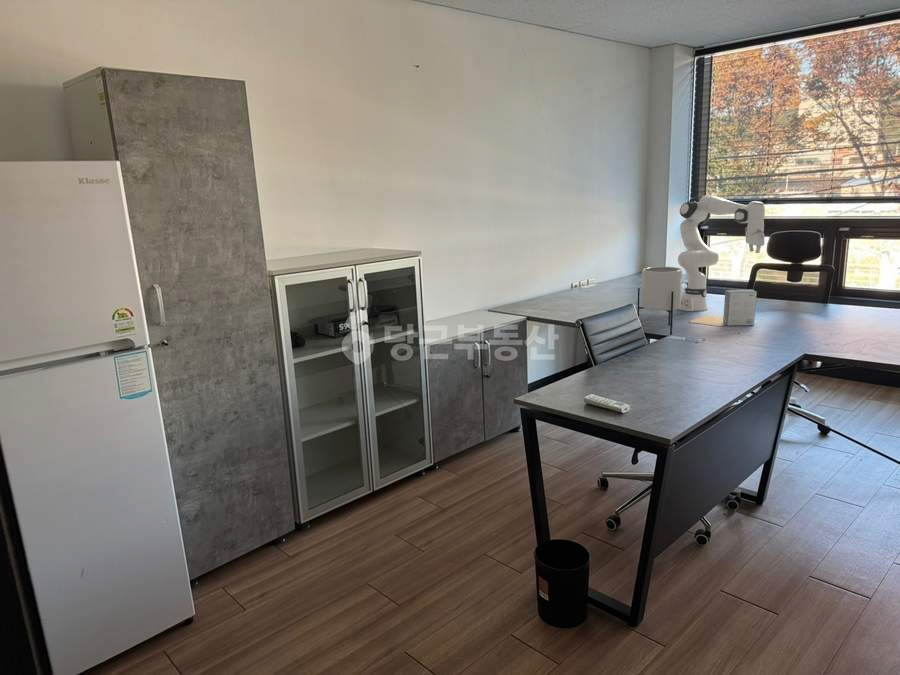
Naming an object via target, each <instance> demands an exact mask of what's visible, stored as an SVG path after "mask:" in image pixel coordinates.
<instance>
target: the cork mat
mask: <svg viewBox="0 0 900 675" xmlns="http://www.w3.org/2000/svg"><path fill="white" fill-rule="evenodd" d="M723 317H724V316H723ZM723 317H722V316H716V315H715V316H714V315H709V314H706V315H703V316H701V317H697V318H694V319H692V320H690V321H688V323H690V322H691V323H692V324H697V325H698V324H699V325H706V326H713V327H720V328H722V327H724V326H727V325H726V324H724V323H723Z"/></svg>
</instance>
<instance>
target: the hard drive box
mask: <svg viewBox="0 0 900 675" xmlns="http://www.w3.org/2000/svg"><path fill="white" fill-rule="evenodd" d="M757 294H758V292H757V291H756V290H754V289H730V290H729V289H728V290H727V289H726V290H725V291H724V304H723V307H724V308H723V323H724V324H726V325H725V326H727V327H728V326H754V325H755V318H756V307H757V306H756V305H757V296H758V295H757Z"/></svg>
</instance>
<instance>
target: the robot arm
mask: <svg viewBox="0 0 900 675" xmlns="http://www.w3.org/2000/svg"><path fill="white" fill-rule="evenodd" d="M765 211H766V208H765V204H764V202H763V201H758V200H754V201H750V202H749V203H748V204H747V205H746V204H742V203H739V202H734V201H731V200H728V199H725V198H723V197H719V196H716V195H709V194H707V195H703V196H701V198H700V199H699V201H697V202H696V200H692V201H687V202H684V203H683V204H682V205H681V206H680V208H679V214H680V216H681V217H682V218H684V219H685V220H683V221H682V222H681V223H680V226H679V229H680V235H681V240H682V242H683V246H684V247H685V249H686V250H685V251H682V252H680V254H679V255H678V256H677V262H678V264H679V266H680V268H682V269H683V270H684V271H685V272H686V275H687V287H685V288H684V289H683V291H684V293H682V294H681V307H680V308H678V309H677V310H681V311H685V312H686V311H687V312H701V311H706V310H708V304H707V276H706V275H705V274H704V273H703V272H701V271H699V270H700V269H699V268H704V267H712V266H714V265H716V264H717V263H718V262H719V254H718V252H717V250H715V249H712V248H710V247H709V246H708V245H706V242H704V241H703V239H702V237H701V234H700V231H699V229H698V228H699V227H698V226H702V225H703V224H706V223H707V222H708V221H709V219H710V217H711V215H714V216H724V215H733V214H734V215H733V216H734V221H735V222H737V223H738V224H747V226H746V227H745V229H744V231H745V242H746V244H747V245H748V248H749V252H751V253H752V252H754V250H755V254H760V251H761V248H762V246H763V247H764V245H765V233H764V231H765V220H764V219H765V216H766V212H765ZM754 246H755V249H754Z"/></svg>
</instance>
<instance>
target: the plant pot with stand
mask: <svg viewBox="0 0 900 675" xmlns="http://www.w3.org/2000/svg"><path fill="white" fill-rule="evenodd" d="M682 284H683V268H682V267H676V266H651V267H650V266H649V267H644V268H642V271H641V289H640V287H638V288H637V315H638V317H639V318H640V310H641V309H642V310H644V309H645V310H650V311H654V312H655V311H657V312H668V318H667V319H668V322H667V323H668V324H667V326H669V327H670V328H669V329H670V330H669V335H673V317H674V316H673V315H674V314H673V312H674V310H679V309H678V308H680V307H681V295H682V286H683V285H682ZM640 291H641V293H640ZM640 294H641V306H640Z"/></svg>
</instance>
